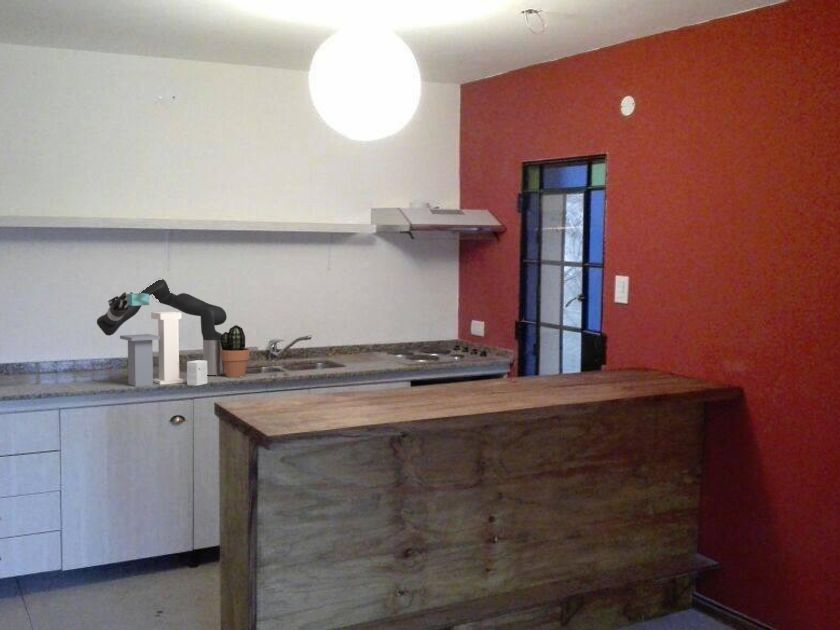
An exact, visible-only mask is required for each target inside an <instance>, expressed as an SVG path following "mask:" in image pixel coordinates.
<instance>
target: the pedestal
mask: <svg viewBox="0 0 840 630" xmlns="http://www.w3.org/2000/svg"><path fill="white" fill-rule="evenodd" d="M119 339H120V340H125V341H127V361H128V362H127V366H128V367H127V369H128V371H127V372H128V373H127V374H128V375H127V376H128V379H127V380H128V381H127V382H128V383H127V384H128V386H132V387H147V386H153V385H154V383H153V379H154V370H153V369H154V366H153V365H154V362H153V359H154V357H153V356H154V355H153V341H154V340H155V341H157V340H158V339H160V336H158V335H155V334H152V333H151V334H149V333H144V334H143V333H142V334H140V333H139V334H126V335H125V334H124V335H119Z"/></svg>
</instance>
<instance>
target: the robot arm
mask: <svg viewBox="0 0 840 630" xmlns="http://www.w3.org/2000/svg"><path fill="white" fill-rule="evenodd" d="M161 279H162V280H158V281H156V282H155V283H153V284H152V285H150V286H149V287H147V288H146V289H145V290H143V289H142V290H143V291H142V290H141V291H142V292H141V291H140V292H141V293H144V294H149V297H150V296H152V294H153V295H154V296H155V298H156V299H158V300H159V302H160V303H159V302H158V303H159V304H162V305H165V306H169V307H171V308H173V309H176V310H178V311H180V312H181V313H184V314H186V315H191V316H196V317H200V325H201V326H200V328H201V329H200V331H201V336H202V351H203V352H202V360H204V361H207V375H216V376H222V375H225V368H224V364H223V360H221V349H222V347H221V343H220V340H221V335H222V334H223V333H221V332H219V331H217V330H216V326H220V325H222V324H224V323H225V322H226V321H227V318H228V317H227V312H226V311H225V310H224V308H223V307H221V306H219V305H218V306H217V305H215V304H210V303H209V302H206V301H204V300H202V299H200V298H198V297H195V296H194V295H191V294H190V293H189V294H188V293H186V292H181V293H179V294H175V293H173V292H172V293H170V291H171V290H170V291H169V289H170V288H168V287H169V286H168V284H167V281H166V280H165V279H164V278H161ZM140 292H139V293H138V294H141V293H140ZM126 294H127V292H123V293H122V294H121V295H119V296H118V295H116V296H114V297H113V298H111V299H109V300H108V301H107V302H108V306H109V308H108V309H107V311H106V312H105V314H103V315H101V316H99V317H98V318H97V319H96V325H97V326H98V328H100V330H101V331H102V332H103V333H104V335H105V336H109V337H110V336H112V335H114V334H115V333H116V332H117V331H118V329H120V327H121V326H122V325H123V324H125V322H127V321H128V320H130V319H131V318H133V317H134V316H135V315H136V314H137V313H138V312H139V311H140V309H141V308H142V306H143V305H140V306H131V305H127V301H126V300H124V299H125V298H126ZM129 294H134V293H133V292H132V291H131V292H129ZM221 374H222V375H221Z"/></svg>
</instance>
